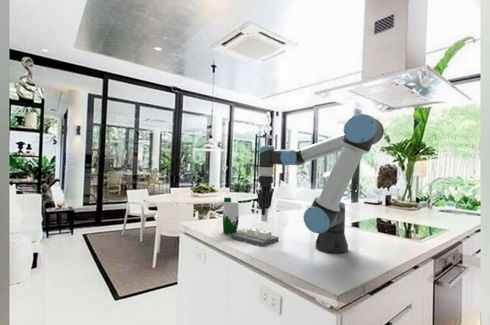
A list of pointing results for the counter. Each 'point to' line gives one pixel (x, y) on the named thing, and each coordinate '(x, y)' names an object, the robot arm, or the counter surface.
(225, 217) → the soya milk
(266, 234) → the key one
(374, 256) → the counter surface
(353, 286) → the counter surface
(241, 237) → the keypad board
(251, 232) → the key two
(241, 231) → the key three
